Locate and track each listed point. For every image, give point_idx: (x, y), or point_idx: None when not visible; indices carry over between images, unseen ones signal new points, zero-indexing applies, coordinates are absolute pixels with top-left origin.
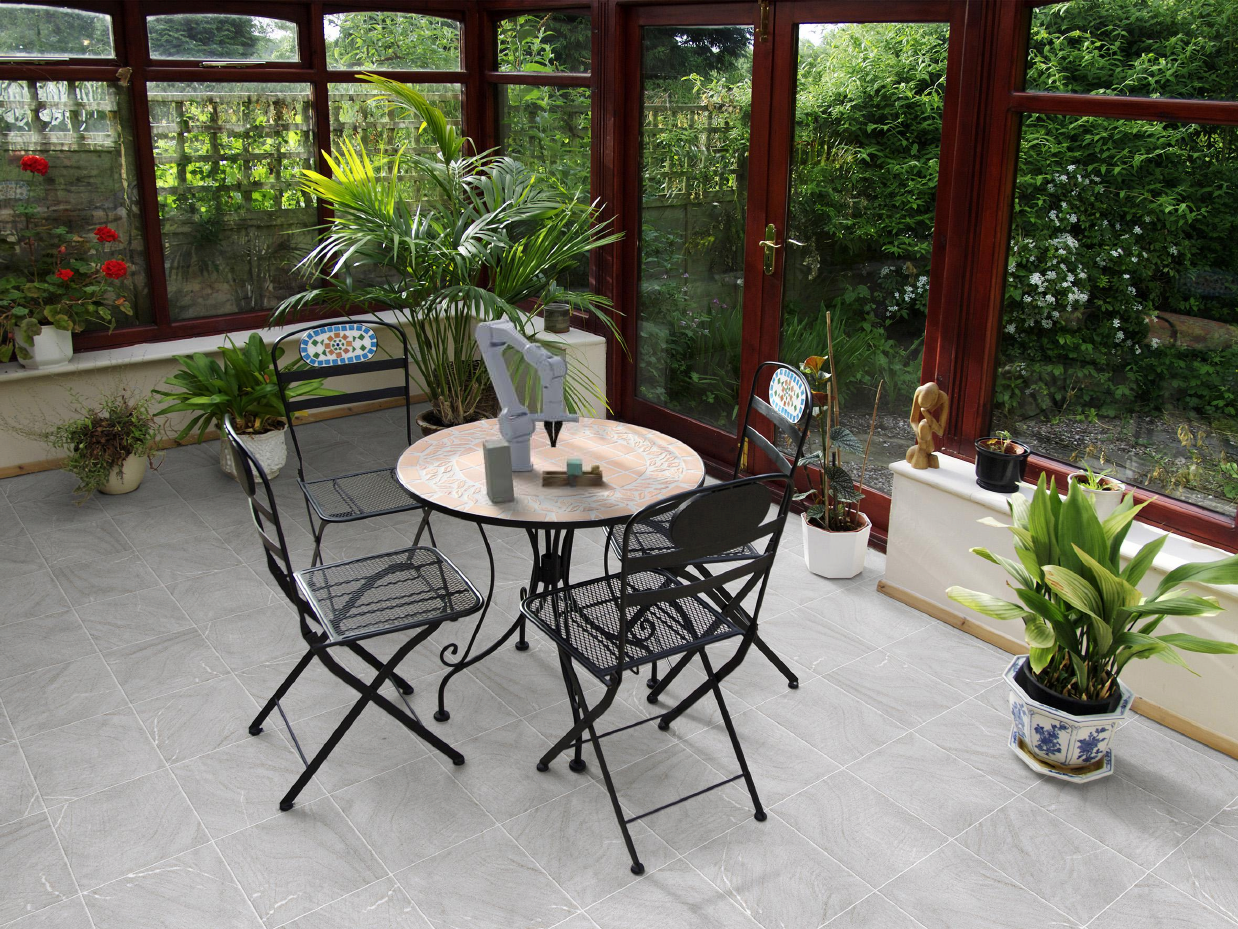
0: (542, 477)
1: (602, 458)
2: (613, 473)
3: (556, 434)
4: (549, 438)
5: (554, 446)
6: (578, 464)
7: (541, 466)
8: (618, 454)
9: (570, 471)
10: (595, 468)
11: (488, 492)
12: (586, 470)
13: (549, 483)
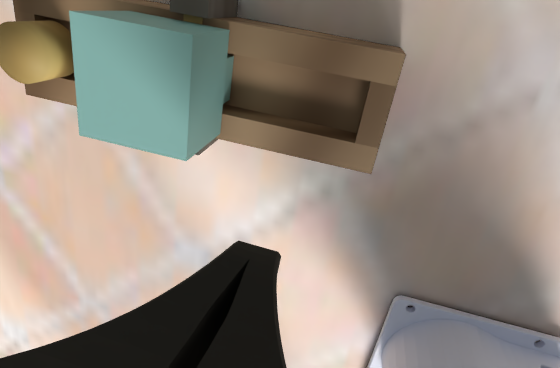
0: (402, 53)
1: None
2: (31, 167)
3: (157, 320)
4: (274, 311)
5: (245, 247)
6: (103, 16)
7: (330, 336)
8: None
9: (192, 27)
10: (20, 21)
11: None
12: None
13: (354, 40)
